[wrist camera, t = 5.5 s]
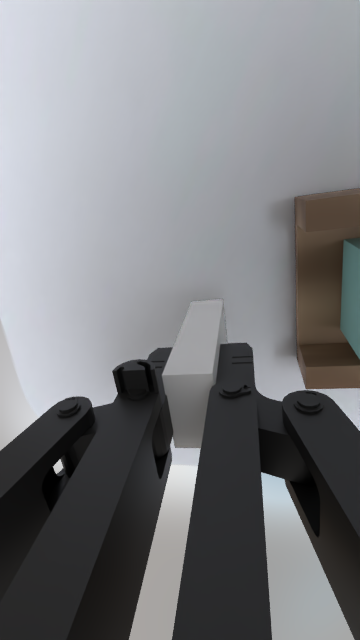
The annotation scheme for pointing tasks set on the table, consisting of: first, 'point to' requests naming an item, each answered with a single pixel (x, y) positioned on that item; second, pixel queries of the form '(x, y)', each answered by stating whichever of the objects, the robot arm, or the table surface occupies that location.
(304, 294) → the chute
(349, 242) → the block
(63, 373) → the table surface
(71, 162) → the table surface
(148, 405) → the robot arm
